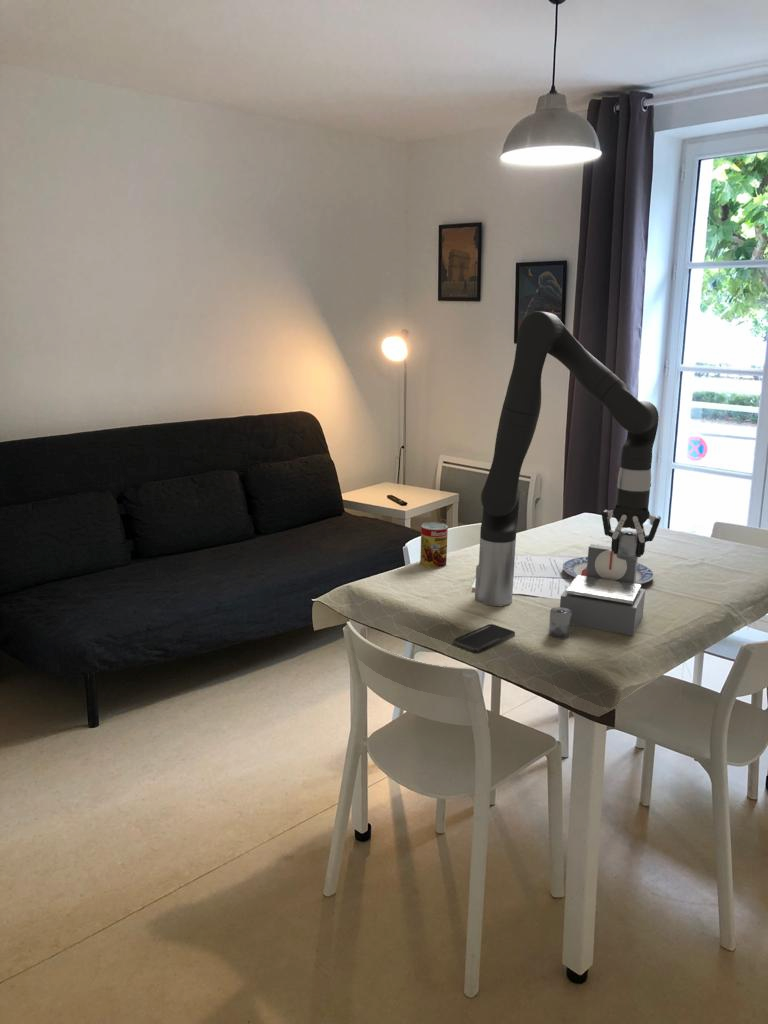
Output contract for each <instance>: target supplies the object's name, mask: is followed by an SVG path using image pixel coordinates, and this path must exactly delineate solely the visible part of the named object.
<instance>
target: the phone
mask: <svg viewBox="0 0 768 1024" xmlns="http://www.w3.org/2000/svg"><path fill="white" fill-rule="evenodd" d="M515 636H516V632H515V631H514V630H511V629H509V628H505V627H502V626H499V625H496V624H492V623H491V624H486V625H483V626H482V627H479V628H477V629H475V630H472V631H470V632H468V633H466V634H463V635H461V636H459V637H456V638H454V639H453V644H454V645H455V646H457V647H461V648H463V649H464V650H465V649H466V650H468V651H471V652H473V653H482V652H484V651H486V650H489V649H491V648H493V647H495V646H497V645H499V644H502V643H503V642H505V641H507V640H510V639H512V638H514V637H515Z"/></svg>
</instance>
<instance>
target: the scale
mask: <svg viewBox="0 0 768 1024" xmlns="http://www.w3.org/2000/svg"><path fill="white" fill-rule="evenodd" d="M616 555H617V554H614V551H612V550H611V546H608V545H600V544H594V543H591V544H589V546H588V551H587V557H588V561H587V573H586V576H587V577H594V578H600V579H607V580H613V581H620V582H627V583H633V584H635V581H636V571H637V563H638V560H639V558H638V559H636V560H623V559H619V558H617V557H616ZM574 579H575V577H573V579H572V581H571V582H570V583H569V584H568V586H567V587H566V588H565V589H564V591H562V594H561V595H560V598H559V599H560V602H559V607H562V608H567V609H569V610H571V611H572V618H571V626H576V627H581V628H582V627H583V628H588V629H594V630H600V631H605V632H611V633H616V634H622V635H625V636H626V635H628V636H634V635H635V633H636V630H637V629H638V626H639V624H640V622H641V620H642V618H643V616H644V605H645V599H646V597H645V596H646V588H641V589H640V591H639V593H638V595H637V597H636V598H635V600H634V602H633V604H629V603H623V602H617V601H611V600H605V599H599V598H592V597H586V596H580V595H574V594H568V593H566V590H567V588H568V587H569V586H570V584H571V583H572V582H573V581H574Z"/></svg>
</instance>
